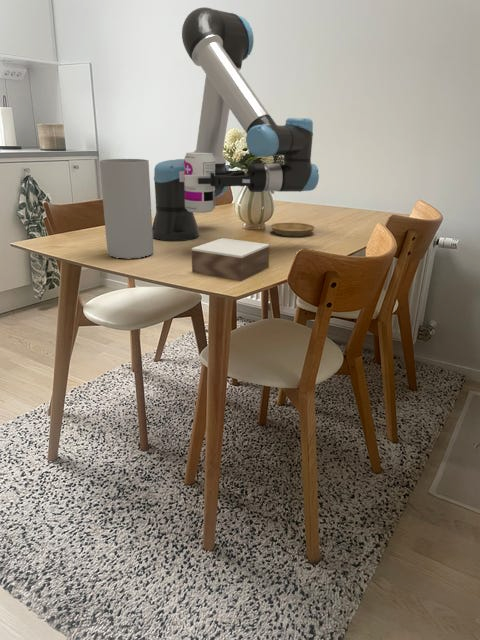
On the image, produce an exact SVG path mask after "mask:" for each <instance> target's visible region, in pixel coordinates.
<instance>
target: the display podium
mask: <svg viewBox="0 0 480 640" xmlns="http://www.w3.org/2000/svg"><path fill="white" fill-rule="evenodd" d="M269 267H270V243H262V242H254V241H247V240H239V239H232V238H225V237H221V238H218V239H215V240H212V241H209V242H206V243H203V244H201V245H198V246H194V247H192V248H191V272H192V273H193V274H194V273H195V274H200V275H207V276H211V277H216V278H222V279H223V278H224V279H227V280H234V281H239V282H243V281H244V280H246V279H248V278H251V277H252V276H254V275H256V274H259V273H260V272H262V271H264V270H266V269H268V268H269Z"/></svg>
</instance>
